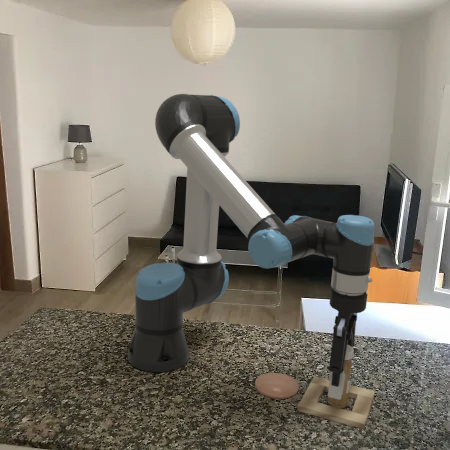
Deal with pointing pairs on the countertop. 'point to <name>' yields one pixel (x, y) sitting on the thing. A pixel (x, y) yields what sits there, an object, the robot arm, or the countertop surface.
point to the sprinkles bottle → (344, 381)
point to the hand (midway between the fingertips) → (338, 388)
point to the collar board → (332, 413)
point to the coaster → (276, 385)
